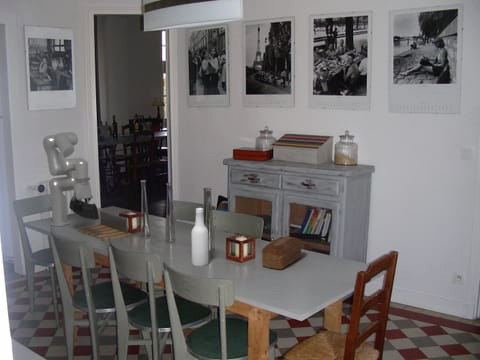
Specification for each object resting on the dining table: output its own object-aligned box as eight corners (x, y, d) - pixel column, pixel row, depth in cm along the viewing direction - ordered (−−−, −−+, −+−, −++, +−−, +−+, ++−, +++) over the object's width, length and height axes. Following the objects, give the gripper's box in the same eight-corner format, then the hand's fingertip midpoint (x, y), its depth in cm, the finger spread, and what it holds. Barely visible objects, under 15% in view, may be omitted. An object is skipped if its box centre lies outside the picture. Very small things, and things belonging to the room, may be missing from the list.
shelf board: (77, 230, 352) (77, 228, 352) (102, 225, 364) (101, 223, 364) (105, 241, 328) (105, 239, 328) (130, 235, 341) (130, 233, 340)
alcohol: (208, 260, 293) (208, 206, 288) (208, 266, 284) (207, 210, 279) (192, 261, 293) (191, 206, 287) (191, 266, 284) (190, 210, 279)
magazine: (101, 207, 322) (76, 185, 340) (96, 208, 320) (71, 185, 338) (97, 231, 329) (73, 208, 347) (92, 233, 327) (68, 209, 345)
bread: (304, 257, 300) (305, 235, 297) (282, 272, 276) (282, 249, 274) (282, 253, 307) (282, 232, 304) (258, 267, 283) (258, 245, 281)
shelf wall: (100, 224, 361) (100, 211, 360) (102, 224, 362) (101, 210, 360) (126, 233, 340) (125, 219, 339) (127, 232, 341) (127, 218, 340)
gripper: (91, 177, 339) (92, 206, 343) (66, 181, 328) (67, 210, 331) (97, 179, 334) (98, 208, 338) (72, 183, 323) (74, 213, 326)
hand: (83, 209), depth 335 cm, fingers closed on magazine, 3 cm apart
